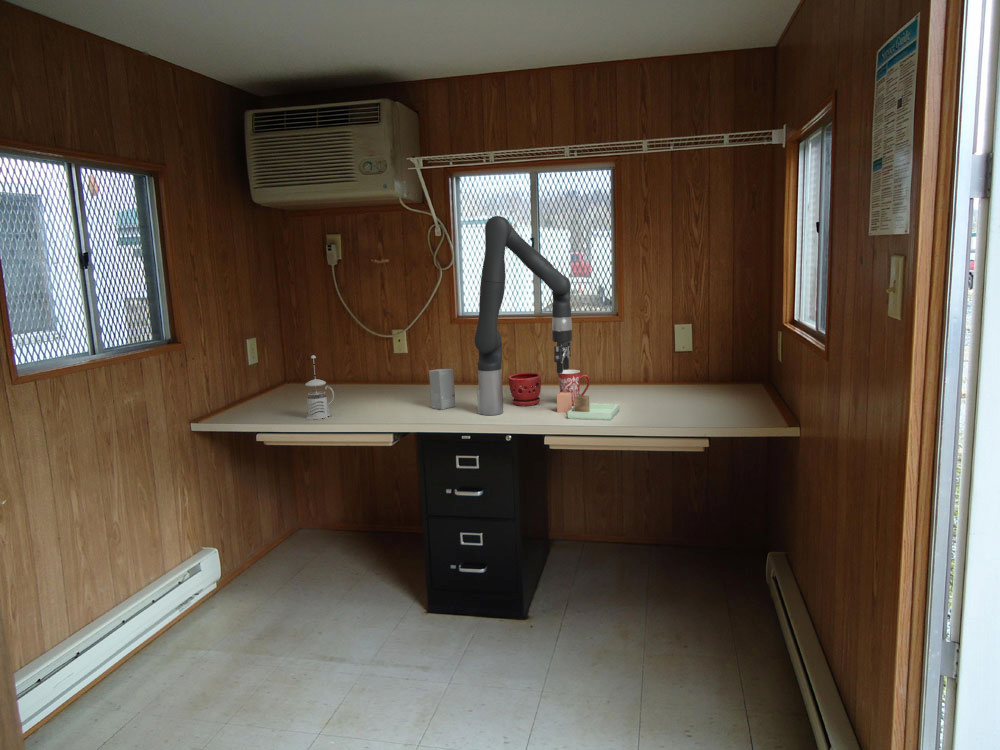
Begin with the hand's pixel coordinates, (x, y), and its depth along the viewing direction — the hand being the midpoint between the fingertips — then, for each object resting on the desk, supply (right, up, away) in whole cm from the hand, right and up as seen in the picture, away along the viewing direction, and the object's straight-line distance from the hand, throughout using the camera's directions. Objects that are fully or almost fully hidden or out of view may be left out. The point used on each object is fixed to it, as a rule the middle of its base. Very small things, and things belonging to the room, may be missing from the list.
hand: (563, 371), depth 278 cm
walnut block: (+7, -16, -8) cm, 19 cm away
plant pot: (-14, -14, +20) cm, 28 cm away
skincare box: (-47, -15, +21) cm, 54 cm away
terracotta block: (+1, -16, +3) cm, 16 cm away
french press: (-96, -18, +14) cm, 99 cm away
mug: (+6, -14, +15) cm, 21 cm away
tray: (+11, -16, -5) cm, 20 cm away
